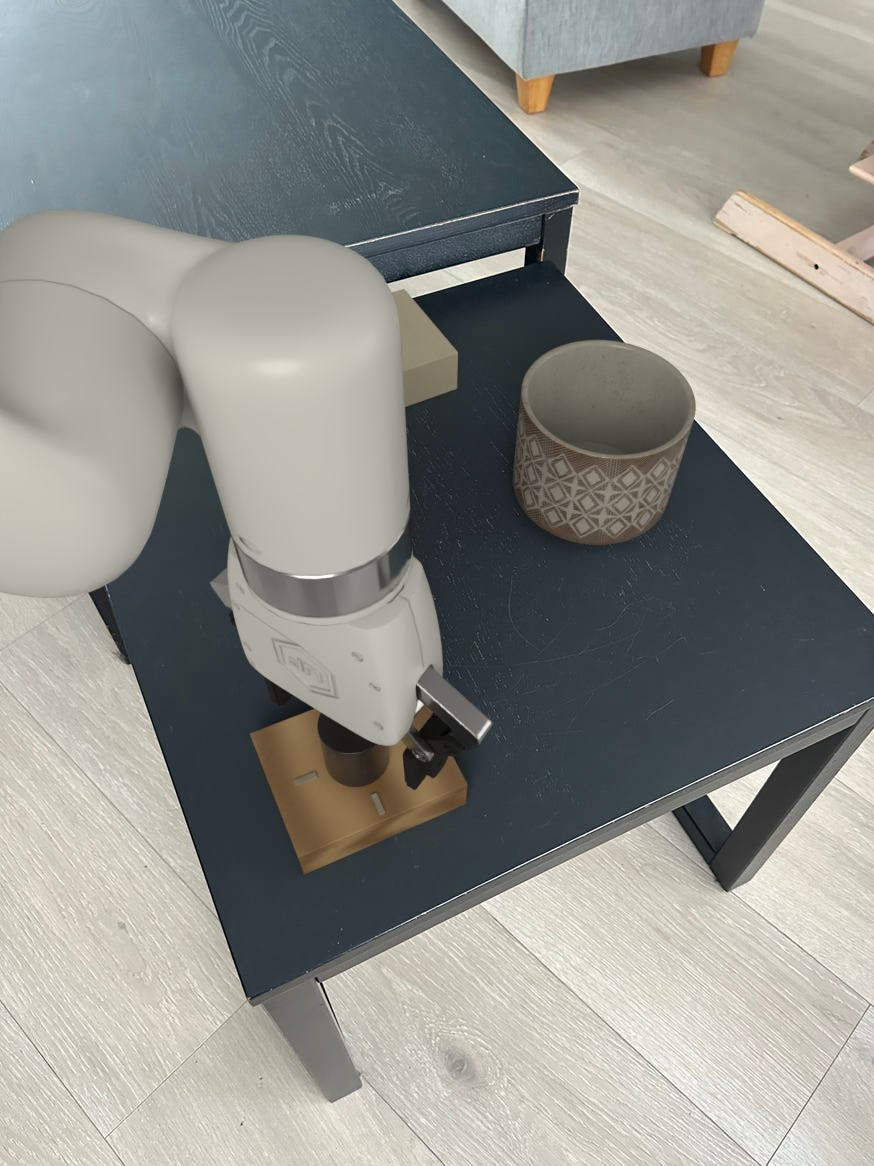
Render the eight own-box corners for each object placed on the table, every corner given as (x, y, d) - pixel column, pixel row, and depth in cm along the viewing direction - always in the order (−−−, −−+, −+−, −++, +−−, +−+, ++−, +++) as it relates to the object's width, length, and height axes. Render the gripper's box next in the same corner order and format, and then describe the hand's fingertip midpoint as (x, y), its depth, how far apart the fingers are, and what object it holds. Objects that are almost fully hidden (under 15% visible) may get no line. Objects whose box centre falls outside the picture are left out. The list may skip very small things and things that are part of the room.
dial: (338, 797, 55) (331, 762, 51) (315, 744, 57) (306, 706, 53) (399, 772, 56) (396, 735, 52) (374, 720, 58) (370, 681, 54)
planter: (603, 421, 79) (624, 320, 70) (697, 515, 73) (732, 417, 64) (481, 474, 75) (487, 373, 66) (571, 578, 69) (590, 482, 60)
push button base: (312, 440, 76) (304, 383, 71) (266, 370, 81) (255, 312, 76) (457, 389, 80) (458, 332, 75) (405, 325, 85) (403, 268, 80)
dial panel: (304, 875, 55) (297, 856, 53) (257, 754, 60) (248, 732, 57) (466, 804, 58) (467, 783, 56) (410, 694, 63) (409, 670, 60)
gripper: (114, 504, 39) (203, 701, 54) (441, 694, 35) (444, 856, 49) (230, 408, 43) (285, 616, 57) (541, 567, 38) (516, 752, 52)
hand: (358, 726), depth 53 cm, fingers open, 9 cm apart
